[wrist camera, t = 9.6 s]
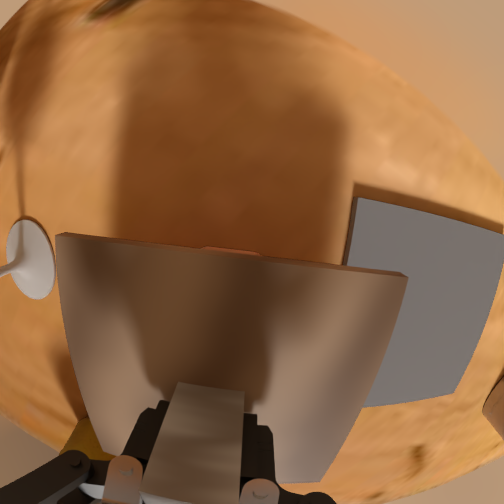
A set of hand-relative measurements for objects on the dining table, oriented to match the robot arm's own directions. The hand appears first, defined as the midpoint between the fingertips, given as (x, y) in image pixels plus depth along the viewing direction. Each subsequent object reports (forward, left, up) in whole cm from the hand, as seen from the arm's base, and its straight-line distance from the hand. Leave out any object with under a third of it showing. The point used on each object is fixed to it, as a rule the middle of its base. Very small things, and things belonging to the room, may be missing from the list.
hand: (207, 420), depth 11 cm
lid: (0, 0, -2) cm, 2 cm away
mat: (-16, -2, -9) cm, 18 cm away
